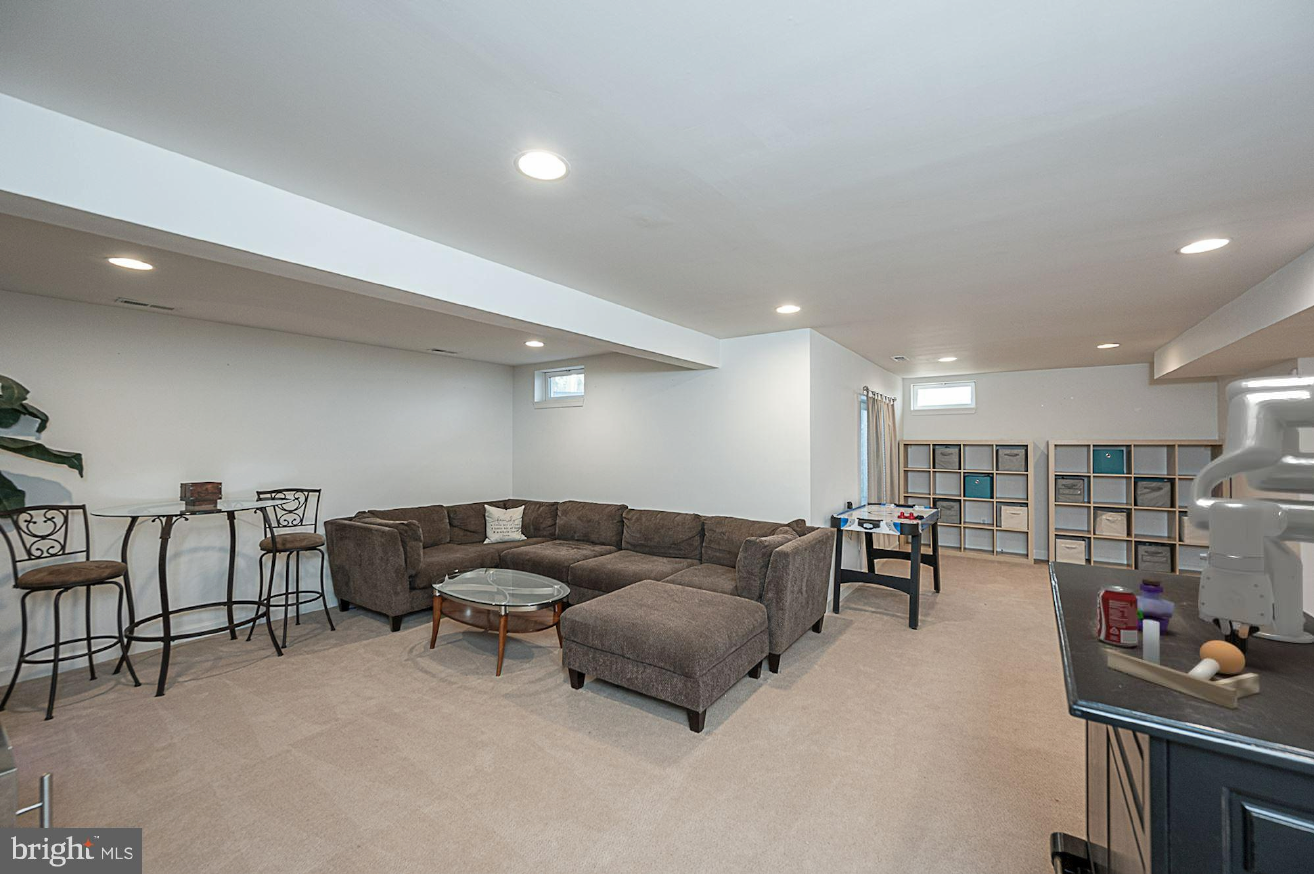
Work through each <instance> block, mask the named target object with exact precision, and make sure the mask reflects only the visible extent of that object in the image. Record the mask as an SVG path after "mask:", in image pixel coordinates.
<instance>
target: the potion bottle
mask: <svg viewBox="0 0 1314 874" xmlns="http://www.w3.org/2000/svg"><path fill="white" fill-rule="evenodd" d="M1161 582H1162V581H1161V580H1158V579H1153V578H1144V577H1143V578H1142V579H1141V582H1139V590H1141V591H1143V594H1142V595H1135V596H1136V598H1137V599H1138V631H1142V632H1143V620H1153V621H1157V622H1159V635H1166V634H1167V635H1168V632H1167V630H1168V627H1169V624H1170V619H1172V618H1173V614H1174V610H1175V607H1176V605H1175V603H1174V602H1172V601H1169V600H1167V599H1163V598H1160V593H1161V594H1163V593H1164V586H1163V585H1161Z"/></svg>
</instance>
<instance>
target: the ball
mask: <svg viewBox="0 0 1314 874" xmlns="http://www.w3.org/2000/svg"><path fill="white" fill-rule="evenodd" d="M1199 657H1200V658H1201V661H1202V660H1204V659H1206V658H1210V659H1213V660H1215V661H1216V662H1217V663H1218V664H1219V666H1220V669H1219V670H1218V671H1217V672H1216V673H1219V674H1222V675H1234V674H1238V673H1240V672H1241V671H1242V670H1244V668H1245V665H1246V659H1245V655H1244V656H1243V654H1242V652H1241V651H1240V650H1239V649H1238V648H1237V647H1235V646H1234V645H1232V644H1230V643H1227V642H1225V640H1217V639H1216V640H1210V641H1207V642H1205V643H1203V644H1202V646H1201V647H1200V649H1199Z"/></svg>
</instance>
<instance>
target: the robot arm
mask: <svg viewBox="0 0 1314 874" xmlns="http://www.w3.org/2000/svg"><path fill="white" fill-rule="evenodd" d="M1224 395H1225V398H1226V402H1227V404H1228V407H1229V408H1228V413H1227V422H1226V429H1225V430H1226V431H1225V438H1224V447H1223V448H1224V449H1223V453H1222V454H1221V455H1219V456H1218V457H1217V458H1215V459H1213V460H1212V461H1210V462H1209V463H1208V464H1207V465H1205V466H1204V467H1202V469H1200V471H1199V472H1198V473H1197V474H1196V475H1195V477H1194V479H1193V481H1192V482H1191V486H1190V489H1189V495H1188V496H1189V497H1188V502H1187V520H1188V522H1189V524H1190V525H1191V526H1192V527H1193V528H1194V529H1196V530H1199V531H1202V532H1208V547H1209V549H1208V551H1207V553H1202V552H1201V553H1199V560H1201V561H1205V562H1206V563H1207V565H1205V566H1203V568H1202V572H1201V574H1200V582H1199V586H1198V587H1199V588H1198V589H1199V590H1198V598H1197V599H1198V602H1197V606H1198V611H1199V615H1198V617H1199V619H1201V620H1204V621H1206V622H1208V623H1212V624H1214V626H1216V627H1217V628H1218V629H1219V630H1220V631H1221V632H1222V634H1223V635H1224V642H1227V643H1230V644H1232V645H1234V646H1235V647H1237V648H1238V649H1239V650H1240V651H1241V652H1242V654H1243V656H1244V657H1245V655H1248V654H1249V637H1251V636H1254V637H1258V638H1263V639H1267V640H1273V641H1277V642H1278V641H1279V642H1286V643H1295V644H1310V643H1314V635H1313V634H1311V633H1310V632H1307V631H1304V624H1305V623H1306V622H1307V619H1306V617H1304V596H1303V595H1304V592H1303V591H1304V590H1303V589H1304V586H1303V585H1304V584H1303V582H1304V580H1303V578H1304V576H1303V574H1304V573H1303V571H1304V568H1303V567H1304V566H1303V562H1302V559H1301V558H1300V556H1299V555H1298V553H1296V551H1295V550H1293V549H1292V548H1291V547H1290V546H1289V545H1288V544H1287V543H1286V542H1294V543H1295V542H1297V543H1305V544H1306V543H1307V544H1314V500H1308V499H1307V500H1303V499H1292V498H1290V499H1289V498H1276V497H1274V498H1273V497H1254V498H1247V499H1243V498H1227V497H1226V498H1225V497H1214V496H1213V497H1210V495H1211V492H1212V490H1213V489H1214V488H1215V486H1217V485H1219V484H1220V483H1221V482H1223V481H1226V480H1229V479H1230V478H1233V477H1236V476H1240V475H1242V474H1244V477H1245V482H1246V485H1247V486H1248V487H1249V488H1250V489H1251V490H1254V491H1259V492H1263V493H1264V492H1265V493H1275V494H1276V493H1278V494H1296V495H1297V494H1298V495H1311V496H1314V452H1302V451H1301V450H1300V432H1299V429H1300V428H1301V429H1303V428H1304V429H1305V428H1307V429H1309V428H1310V429H1311V428H1314V373H1303V374H1290V375H1289V374H1288V375H1273V376H1271V375H1270V376H1260V377H1259V376H1257V377H1248V378H1242V379H1239V380H1238V379H1237V380H1234V381H1232V382H1231V383H1229V384H1227V386H1226V388H1225V393H1224ZM1236 631H1237V632H1238V633H1237V632H1236Z"/></svg>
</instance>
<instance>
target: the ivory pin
mask: <svg viewBox="0 0 1314 874" xmlns="http://www.w3.org/2000/svg"><path fill="white" fill-rule="evenodd" d="M1219 669H1220V666H1219V664H1218V663H1217V662H1216V661H1215V660H1213V659H1210V658H1206V659H1204V660H1202V659H1201V661H1200V662H1199V663H1198V664H1197V665H1196V666H1194V667H1193V668H1192V669H1191V671H1190V670H1189V671H1190V672H1189V673H1188V672H1187V674H1189V675H1193V676H1196V677H1199V678H1202V679H1205V680H1209V679H1210V678H1211V677H1212V676H1214V675H1216V673H1218V672H1217V671H1218V670H1219Z"/></svg>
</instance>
